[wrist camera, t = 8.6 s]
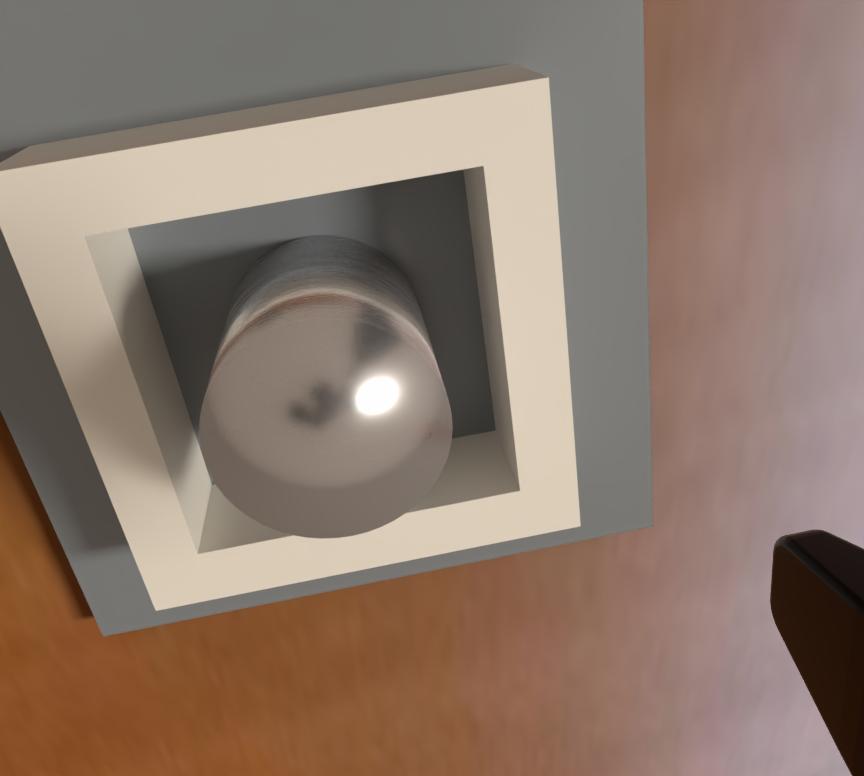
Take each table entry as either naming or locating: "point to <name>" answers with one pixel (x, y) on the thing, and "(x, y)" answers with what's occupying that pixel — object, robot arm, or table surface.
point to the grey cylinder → (325, 393)
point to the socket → (307, 216)
